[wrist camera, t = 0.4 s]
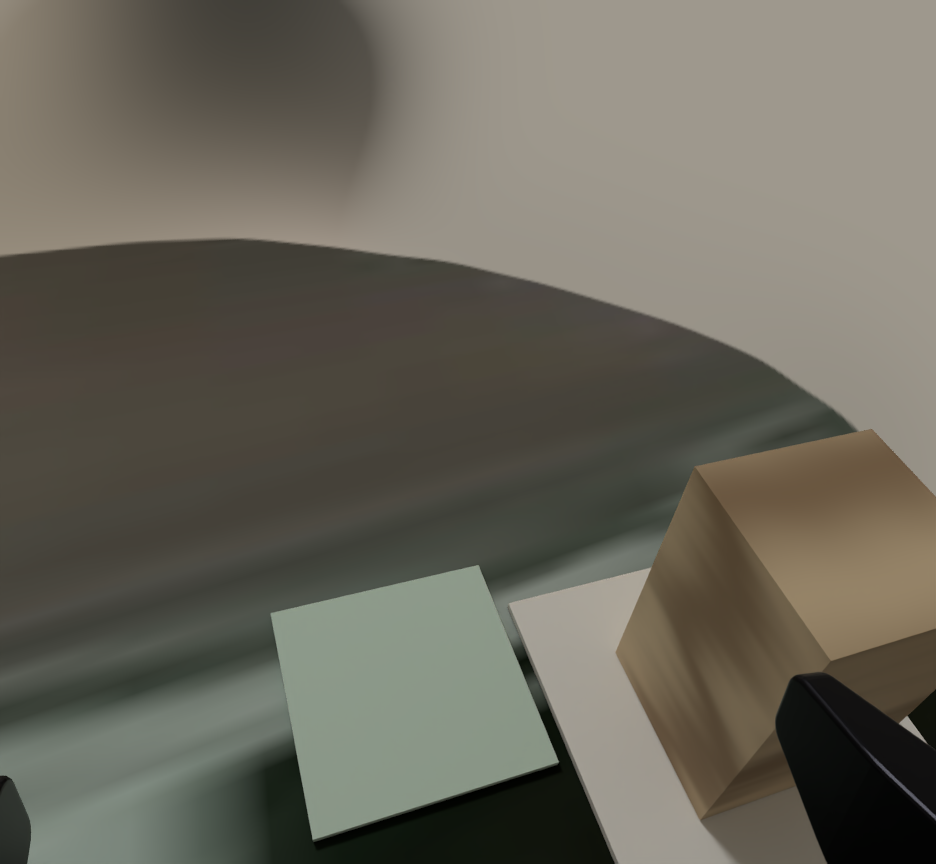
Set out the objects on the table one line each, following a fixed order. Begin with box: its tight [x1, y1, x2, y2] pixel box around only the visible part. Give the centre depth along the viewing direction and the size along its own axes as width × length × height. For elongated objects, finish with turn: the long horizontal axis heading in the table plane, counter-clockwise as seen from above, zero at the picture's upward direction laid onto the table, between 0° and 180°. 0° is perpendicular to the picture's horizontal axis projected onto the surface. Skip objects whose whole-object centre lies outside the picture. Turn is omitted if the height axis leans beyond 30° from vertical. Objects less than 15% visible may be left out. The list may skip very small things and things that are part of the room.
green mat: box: [271, 565, 559, 842], centre depth 27 cm, size 8×8×1 cm
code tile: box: [508, 568, 926, 864], centre depth 28 cm, size 12×12×1 cm
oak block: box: [615, 429, 936, 820], centre depth 24 cm, size 6×6×10 cm
